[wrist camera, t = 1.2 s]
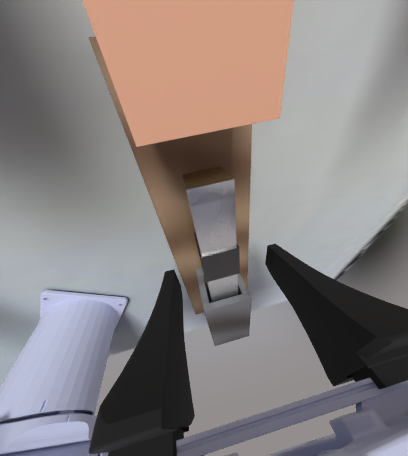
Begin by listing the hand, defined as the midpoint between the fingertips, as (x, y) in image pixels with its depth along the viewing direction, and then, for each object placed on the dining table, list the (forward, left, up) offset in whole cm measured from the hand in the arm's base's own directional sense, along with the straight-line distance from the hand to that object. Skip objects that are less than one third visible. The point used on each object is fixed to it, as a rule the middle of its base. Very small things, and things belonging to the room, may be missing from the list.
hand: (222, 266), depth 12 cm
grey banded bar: (-3, -2, -3) cm, 4 cm away
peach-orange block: (+9, +7, -4) cm, 12 cm away
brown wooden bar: (-1, 0, -5) cm, 5 cm away
